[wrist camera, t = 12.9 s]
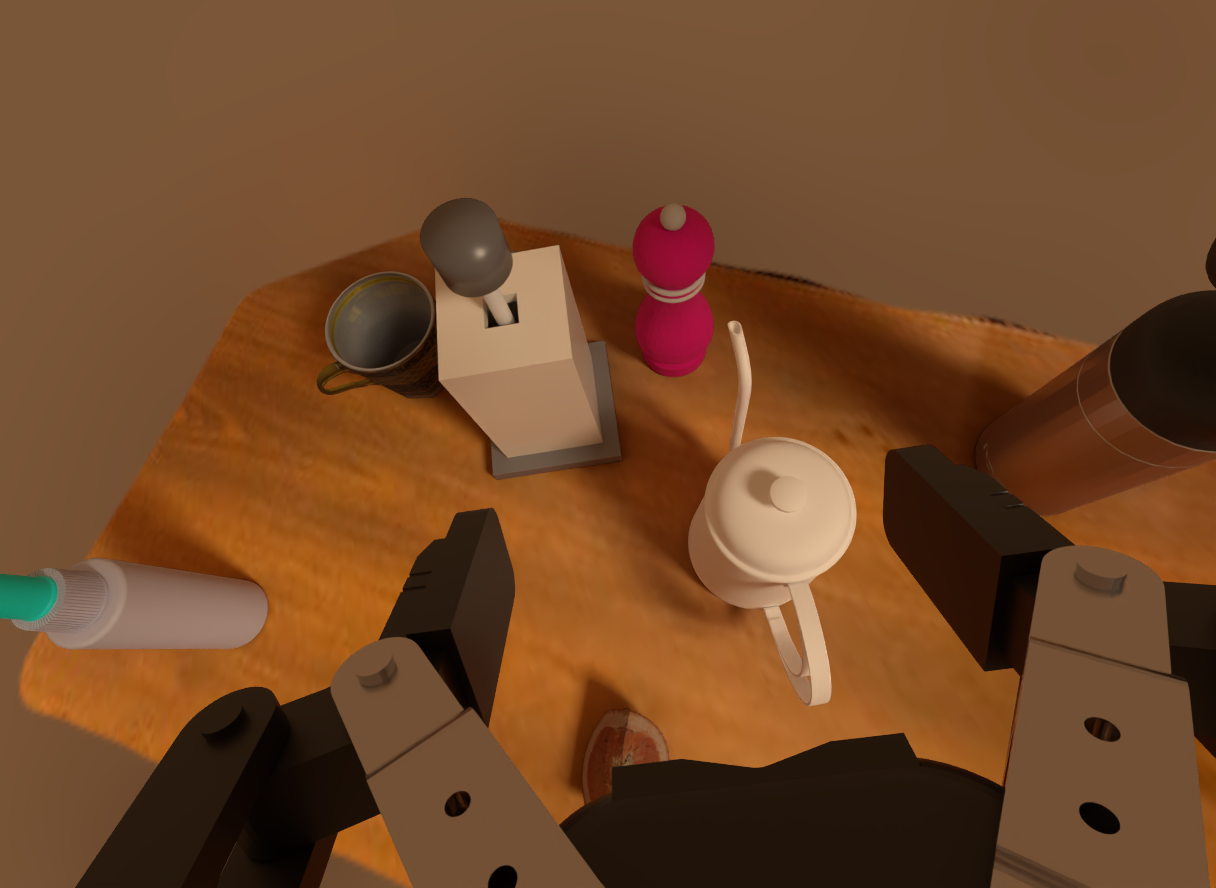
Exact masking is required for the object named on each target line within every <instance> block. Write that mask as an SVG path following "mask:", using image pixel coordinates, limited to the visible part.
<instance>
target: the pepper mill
mask: <svg viewBox="0 0 1216 888" xmlns="http://www.w3.org/2000/svg"><path fill="white" fill-rule="evenodd" d="M713 254H714V237H713V233H712V230H711V227H710V225H709V223H708V222H707V220H706V219H705V218H704V217H703V216H702V215H701V214H700V213H698V212H697V211H696V210H694V209H692V208H689V207H687V206H682V205H679V204H676V203H671V204H668V205H666V206H664V207H660V208H658V209H656V210H654V211H652V212H651V213H650V214H648V215H647V216H646V217H645V218H644V219H643V220H642V221H641V223H640V225H639V226H638V228H637V230H636V233H635V236H634V240H633V257H634V261H635V264H636V266H637V268H638V270H639V272H640V273H641V274H642V282H643V285H644V288H645V289H646V291H647V292H648V294H647V296H646V297H645V298H644V300H643V301H642V303H641V305H640V307H639V309H638V312H637V315H636V319H635V336H636V339H637V342H638V344H639V346H640V347H641V349H642V351H643V356H644V359H645V361H646V363H647V364H648V366H649V367H650V368H651V369H652V370H654V371H655V372H657V373H658V374H661V375H664V376H668V377H679V376H683V375H686V374H689V373H691V372H692V371H694V370H695V369H696V368H697V367H699V365H700V364H701V363H702V361H703V359H704V357H705V353H706V348H707V346H708V345H709V343H710V341H711V339H712V335H713V329H714V324H713V315H712V311H711V308H710V306H709V304H708V302H707V300H706V299H705V297H704V296H703V295H702V294H701V293H700V289H701V288H702V286H703V284H704V281H705V274H706V273H705V272H706V270H707V269H708V268H709V266H710V264H711V261H712V257H713Z"/></svg>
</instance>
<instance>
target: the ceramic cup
mask: <svg viewBox="0 0 1216 888" xmlns="http://www.w3.org/2000/svg"><path fill="white" fill-rule="evenodd" d="M325 339H326V343H327V346H328V349H329V351H330V352H331V354H332V355H333V356H334V358H335V359H336V360H337V361H338V362H335V363H332V364H330V365H328V366H327V367H325V368H324V369H323V370H322V371H321V373H320V374H319V376H318V378H317V386H318V388H319V390H320V391H321V392H322V393H324V394H327V395H333V394H338V393H341V392H344V391H347V390H350V389H354V388H360V387H365V386H368V385H383V386H385V387H387V388H389V389H391V390H393V391H395V392H397V393H399V394H401V395H403V396H405V397H406V398H429V397H434V396H435V395H436V394H438V393H439V392H440V391H441V390H442V389H443V388H444V386H443V385H442V384H441V383H440V381H439V372H438V343H437V314H436V303H435V301H434V299H433V297H432V295H431V293H430V291H429V290H428V288H427V287H426V286H425V285H424V284H423V283H422V282H421V281H419V280H418V279H416V278H415V277H413V276H411V275H408V274H405V273H401V272H380V273H375V274H372V275H369V276H366V277H364V278H362V279H360V280H358V281H356V282H355V283H353V284H351V285H350V286H349V287H348V288H346V289H345V290H344V291H343V292H342V293H341V294H340V295H339V297H338V298H337V299H336V301H335V302H334V303H333V305H332V307H331V309H330V311H329V313H328V316H327V319H326V324H325ZM345 372H350V373H355V374H359V375H361V376H364V377H366V379H365V380H363V381H360V382H353V383H349V384H345V385H342V386H339V387H336V388H332V389H324V385H325V384H326V383H327V382H328V381H329V380H330V379H332V378H334V377H336V376H338V375H340V374H342V373H345Z"/></svg>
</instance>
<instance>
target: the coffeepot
mask: <svg viewBox="0 0 1216 888" xmlns="http://www.w3.org/2000/svg"><path fill="white" fill-rule="evenodd" d="M728 328H729V332H730V336H731V340H732V344H733V349H734V353H735V357H736V363H737V369H738V379H739V387H738V395H737V401H736V407H735V414H734V420H733V426H732V432H731V438H730V452H729V453H728V454H727V455H726V456H725V457H724V458H723V459H722V460H721V461H720V462H719V463H718V465H717V466H716V467H715V469H714V471H713V472H712V474H711V476H710V478H709V481H708V484H707V487H706V491H705V496H704V498H703V499H702V501H701V503H700V505H699V507H698V509H697V510H696V512H695V514H694V516H693V519H692V521H691V524H690V528H689V534H688V549H689V555H690V559H691V562H692V565H693V568H694V570H695V572H696V574H697V575H698V577H699V579H700V580H701V581H702V583H703V584H704V585H705V586H706V587H707V588H708V589H709V590H710V591H711V592H712V593H713V594H714V595H716V596H717V597H719V598H720V599H722V600H723V601H725V602H727V603H729V604H732V605H735V606H738V607H741V608H746V609H762V612H763V611H765V614H766V617H767V620H768V623H769V626H770V629H771V632H772V635H773V638H774V641H775V644H776V647H777V650H778V653H779V655H780V658H781V660H782V663H783V666H784V668H785V670H786V673H787V675H788V678H789V680H790V682H791V684H792V686H793V688H794V690H795V692H796V694H797V695H798V697H799V698H800V700H801V701H802V702H803V703H804V704H805V705H807V706H813V705H818V704H824V703H827V702H828V701H829V700H830V696H831V675H830V667H829V661H828V655H827V650H826V646H825V641H824V637H823V633H822V629H821V625H820V621H819V617H818V613H817V610H816V606H815V603H814V600H813V597H812V593H811V590H810V588H809V585H808V584H809V583H810V582H811V581H812V580H813V579H814V578H815V577H816V576H817V575H819V574H821V573H823V572H825V571H826V570H828V569H829V568H830V567H832V566H833V565H834V564H835V563H836V562H837V561H838V560H839V559H840V558H841V557H842V555H843V554H844V553H845V551H846V550H847V548H848V546H849V544H850V542H851V540H852V537H853V534H854V530H855V525H856V503H855V498H854V494H853V491H852V488H851V486H850V484H849V482H848V480H847V478H846V476H845V475H844V473H843V472H842V470H841V469H840V468H839V467H838V465H837V464H836V463H835V462H834V461H833V460H832V459H831V458H830V457H829V456H827V455H826V454H825V453H823V452H822V451H820V450H819V449H817V448H815V447H814V446H812V445H810V444H807V443H805V442H802V441H799V440H795V439H791V438H785V437H766V438H760V439H756V440H752V441H749V442H747V443H744V444H742V445H740V443H741V438H742V433H743V428H744V423H745V418H746V414H747V409H748V404H749V399H750V394H751V383H752V382H751V368H750V361H749V356H748V351H747V347H746V342H745V338H744V335H743V331H742V327H741V324H740V323H739V322H738V321H730V322H729V323H728ZM791 599H792V601H793V605H794V608H795V613H796V617H797V622H798V628H799V634H800V640H801V649H802V659H801V658H800V656H799V654H798V652H797V650H796V648H795V646H794V644H793V642H792V640H791V637H790V635H789V633H788V630H787V627H786V624H785V621H784V618H783V617H782V614H781V611H780V608H779V605H782V604H784V603H786V602H788V601H790V600H791ZM809 675H810V682H811V684H810V682H809V681H808V679H807V677H806V676H809Z"/></svg>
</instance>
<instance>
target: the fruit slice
mask: <svg viewBox="0 0 1216 888" xmlns="http://www.w3.org/2000/svg"><path fill="white" fill-rule="evenodd" d="M660 761H669V751H668V747H667V743H666V740H665V738H664V736H663V734H662V733H661V731H660V730H659V728H658V727H657V726H656V725H655V724H654V723H653V722H652V721H650V720H649V719H648V718H646V717H644V716H642V715H640V714H638V713H635V712H631V711H629V709H628V708H625V710H619V709H611V710H608V711H607V712H606V713H605V714H604V715H602V717H601V719H600V720H599V721H598V723H597V725H596V726H595V728H594V730H593V732H592V734H591V737H590V739H589V742H588V745H587V748H586V751H585V756H584V760H583V767H582V790H583V797H584V804H587V803H589V802H591V801H593V800H595V799H597V798H599V797H600V796H603V795H605V794H608V793H610V792H612V767H618V766H626V765H635V764H643V763H652V762H660Z"/></svg>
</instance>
